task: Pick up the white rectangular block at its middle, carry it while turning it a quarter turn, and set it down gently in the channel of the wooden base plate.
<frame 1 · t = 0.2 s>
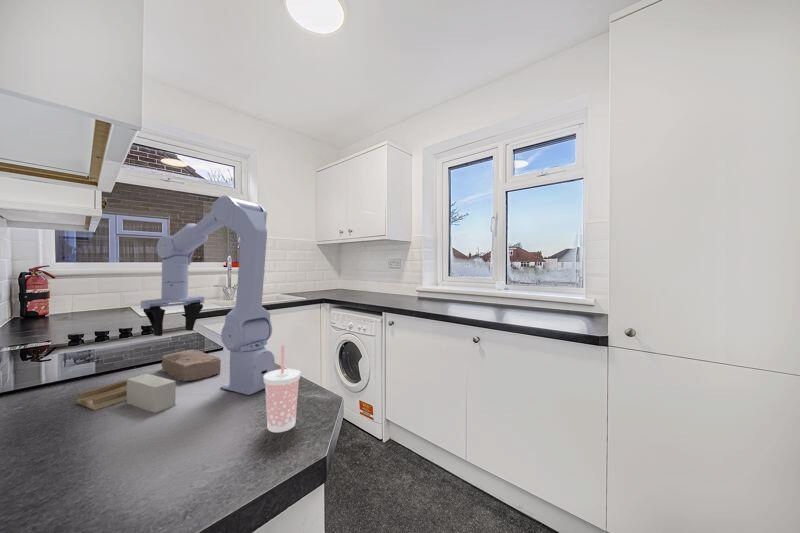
hand: (174, 332, 81), 10 cm above the worktop, tool pointing down, fingers open, 7 cm apart
wooden base plate: (121, 395, 64), on the worktop
white rectangular block: (150, 404, 61), on the worktop
brick: (190, 374, 79), on the worktop
beverage cup: (281, 426, 53), on the worktop
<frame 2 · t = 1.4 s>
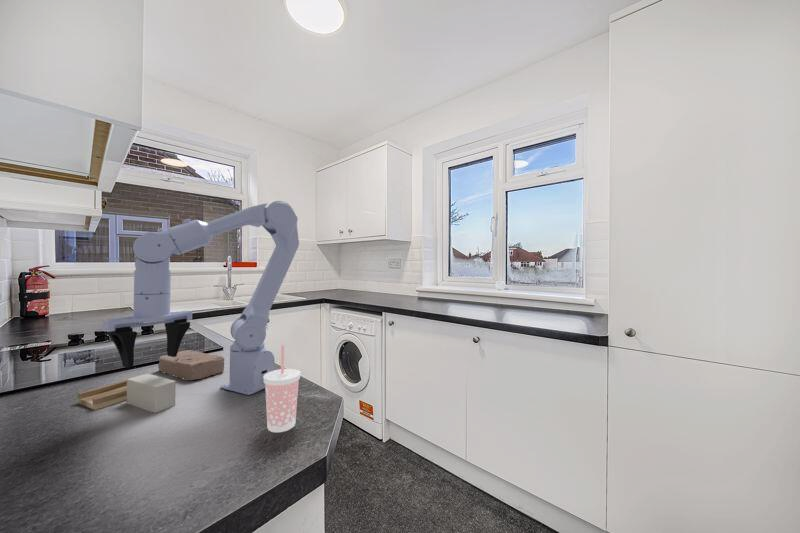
hand: (151, 361, 61), 9 cm above the worktop, tool pointing down, fingers open, 7 cm apart
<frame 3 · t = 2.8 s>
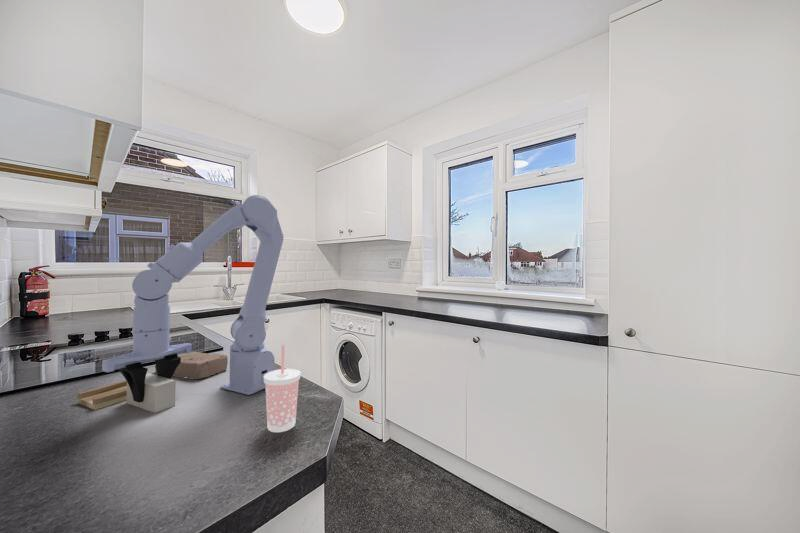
hand: (150, 396, 61), 1 cm above the worktop, tool pointing down, fingers closed on white rectangular block, 3 cm apart
white rectangular block: (150, 404, 61), on the worktop, touching gripper
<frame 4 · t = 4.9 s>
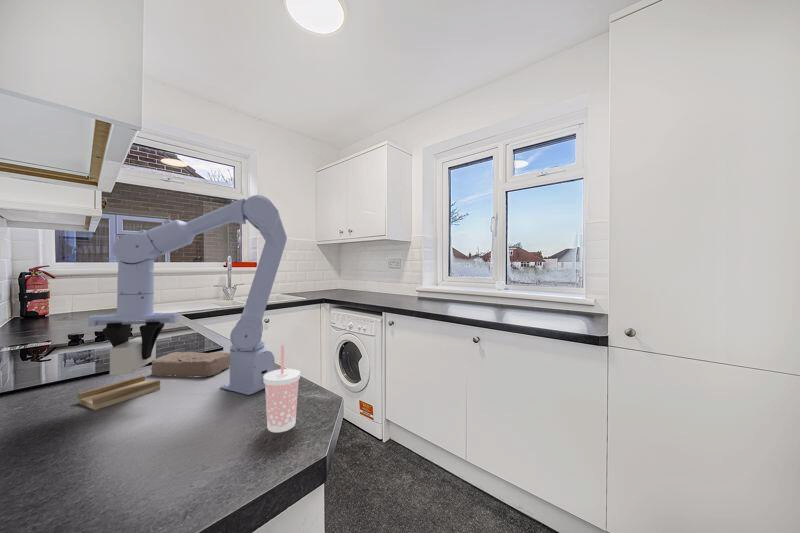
hand: (134, 359, 63), 8 cm above the worktop, tool pointing down, fingers closed on white rectangular block, 3 cm apart
white rectangular block: (134, 366, 63), point 7 cm above the worktop, touching gripper
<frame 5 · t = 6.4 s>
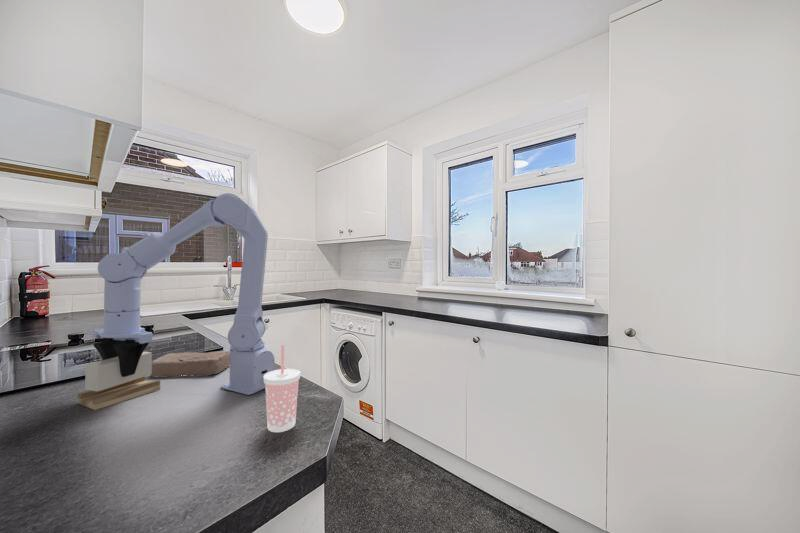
hand: (121, 374, 64), 5 cm above the worktop, tool pointing down, fingers closed on white rectangular block, 3 cm apart
white rectangular block: (120, 381, 64), point 3 cm above the worktop, touching gripper
when the fingers open (3 cm above the worktop, at t = 7.1 s): white rectangular block stays where it is, resting on wooden base plate.
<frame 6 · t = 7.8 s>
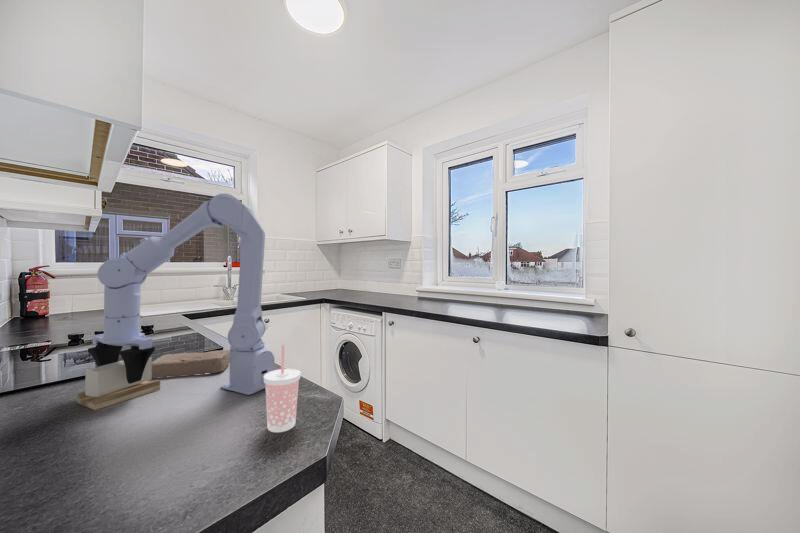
hand: (121, 379, 64), 3 cm above the worktop, tool pointing down, fingers open, 7 cm apart
white rectangular block: (120, 386, 64), point 2 cm above the worktop, touching wooden base plate
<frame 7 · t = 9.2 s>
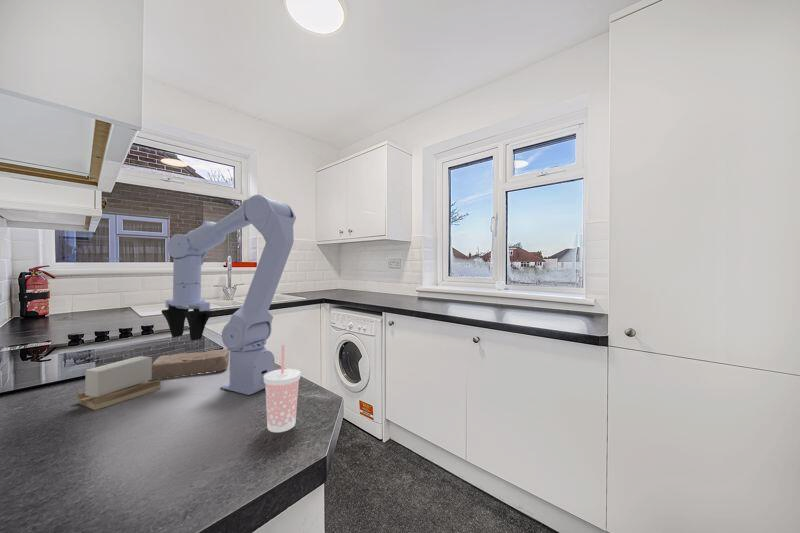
hand: (186, 338, 75), 10 cm above the worktop, tool pointing down, fingers open, 7 cm apart
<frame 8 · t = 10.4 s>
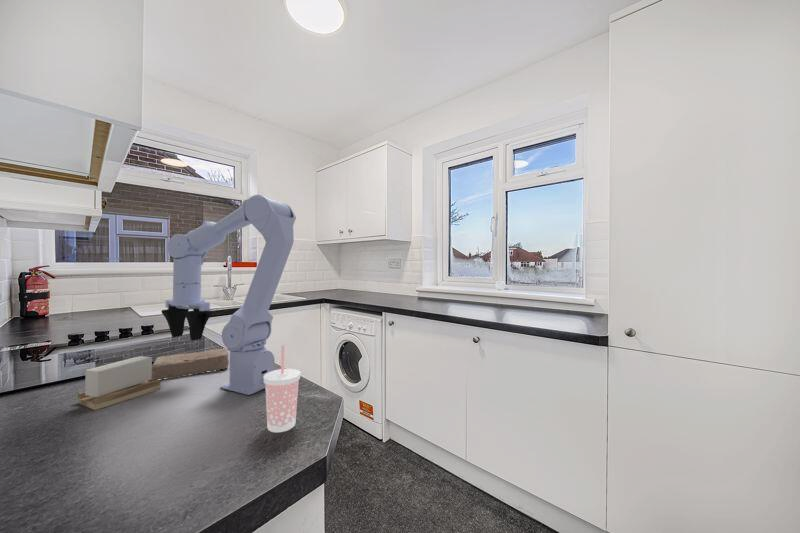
hand: (186, 338, 75), 10 cm above the worktop, tool pointing down, fingers open, 7 cm apart
at the end: white rectangular block inside the target area on the wooden base plate (0.1 cm from its centre), point 2.0 cm above the wooden base plate's base; white rectangular block tilted 0°; the gripper is holding nothing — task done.
